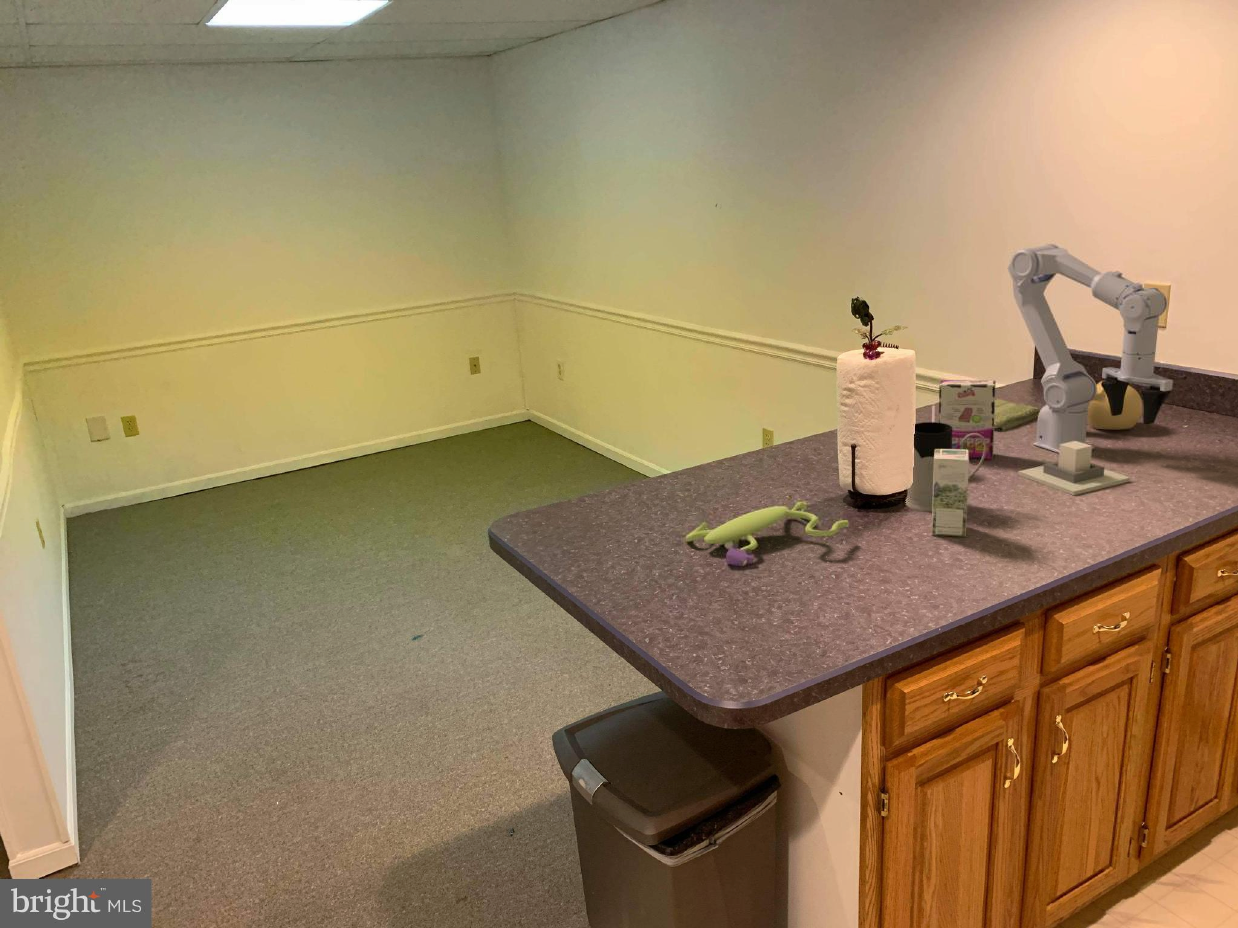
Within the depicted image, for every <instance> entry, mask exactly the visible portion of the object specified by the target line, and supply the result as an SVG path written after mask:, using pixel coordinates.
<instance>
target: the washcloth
mask: <svg viewBox="0 0 1238 928" xmlns="http://www.w3.org/2000/svg"><path fill="white" fill-rule="evenodd" d="M1040 411H1041V409H1040V408H1039V407H1035V406H1031V405H1025V404H1022V403H1019V404H1017V403H1014V402H1011V401H1008V400H1004V399H996V398H995V419H994V430H998V431H1002V432H1004V431H1007V430H1010V429H1012V428H1014V427H1017V426H1019V425H1022V424H1024V423H1027V422H1030V421H1032V420H1034V419H1038V415H1039V413H1040Z"/></svg>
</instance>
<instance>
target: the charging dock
mask: <svg viewBox="0 0 1238 928" xmlns="http://www.w3.org/2000/svg"><path fill="white" fill-rule="evenodd" d="M1058 462H1059V460H1056V461H1051V462H1048V463H1044V464H1043V465H1040V466H1036V467H1035V466H1034V467H1031V468H1026V469H1023V470H1018V473H1017V474H1018V476H1020V477H1023V478H1026V479H1028V480H1031V481H1034V482H1036V483H1040V484H1041V485H1044V486H1047V487H1050V488H1052V489H1055V490H1058V491H1060V492H1062V493H1063V492H1064V493H1065V494H1069V495H1072V496H1077V495H1081V494H1084V493H1085V494H1086V493H1089V492H1092V491H1093V492H1094V491H1098V490H1101V489H1105V488H1108V487H1113V486H1117V485H1120V484H1121V485H1122V484H1125V483H1128V482H1131V477H1130V476H1127V475H1123V474H1120V473H1117V472H1115V471H1111V470H1108V469H1105V466H1102V465H1098V464H1095V463H1094V462H1093V463H1092V462H1091V463H1090V469H1085V470H1081V471H1077V472H1072V471H1069V470H1066V469H1063V468H1060V467H1058Z"/></svg>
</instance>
